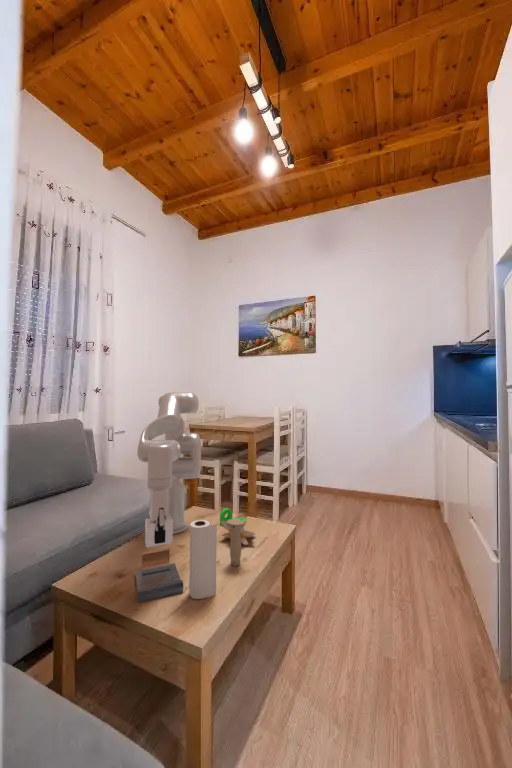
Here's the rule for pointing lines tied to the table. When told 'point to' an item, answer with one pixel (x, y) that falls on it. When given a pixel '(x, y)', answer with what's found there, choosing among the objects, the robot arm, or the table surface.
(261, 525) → the table surface
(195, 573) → the paper towel roll
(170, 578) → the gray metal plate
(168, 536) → the block
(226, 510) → the mechanical part
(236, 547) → the handle
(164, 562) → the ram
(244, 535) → the decorative flower
